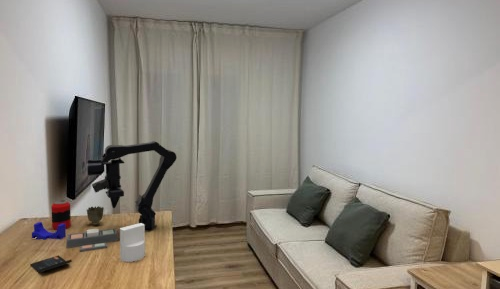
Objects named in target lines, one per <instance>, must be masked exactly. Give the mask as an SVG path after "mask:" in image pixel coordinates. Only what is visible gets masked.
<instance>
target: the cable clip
mask: <svg viewBox="0 0 500 289" xmlns="http://www.w3.org/2000/svg"><path fill="white" fill-rule="evenodd" d="M33 230H34V231H32V232H31V239H32V238H35V237H37V238H36V239H35V240H40V239H43V240H42V241H45V240H48V239H49V240H51V239H53V240H62V239H65V238H66V237H67V235H66V233H67V232H66V230H67V229H65V224H63V223H62V224H60V225H58V227H57V230H55V232H50V231H48V230H46V228H45V227H44V226H43V222H42V221H39V222H36V223H34V224H33Z"/></svg>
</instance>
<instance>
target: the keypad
mask: <svg viewBox="0 0 500 289" xmlns="http://www.w3.org/2000/svg"><path fill="white" fill-rule="evenodd" d="M107 230H113V231H114V234H107V235H102V231H107ZM98 231H99V236H91V237H87V231H83V232H77V233H68V234H67V236H66V237H67V239H66V245H65V248H66V249H70V248H78V247H82V246H87V245H95V244H101V243H111V242H117V241H118V242H120V239H119V236H118V231H117V228H109V229H108V228H107V229H100V230H99V229H98ZM75 234H83V238H76V239H71V235H75Z"/></svg>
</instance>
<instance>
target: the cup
mask: <svg viewBox="0 0 500 289" xmlns="http://www.w3.org/2000/svg"><path fill="white" fill-rule="evenodd" d="M86 213H87V219H88V221H89V222H91V225H92V226H99V225H100V223H101V222H100V221H101V220H103V217H104V206H100V205H99V206H98V205H97V206H94V207H93V206H90V207H88V208H87V209H86Z"/></svg>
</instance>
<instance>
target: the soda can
mask: <svg viewBox="0 0 500 289" xmlns="http://www.w3.org/2000/svg"><path fill="white" fill-rule="evenodd" d="M50 208H51V229H53V230H55V231H57V227H58V225H60V224H62V223H63V224H65V229H66V230H67V229H69V228H70V227H71V226H72V222H71V220H72V218H71V217H72V216H71V203H70V202H69V201H68V200H57V201H54V202H53V204H52V205H51V207H50Z"/></svg>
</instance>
